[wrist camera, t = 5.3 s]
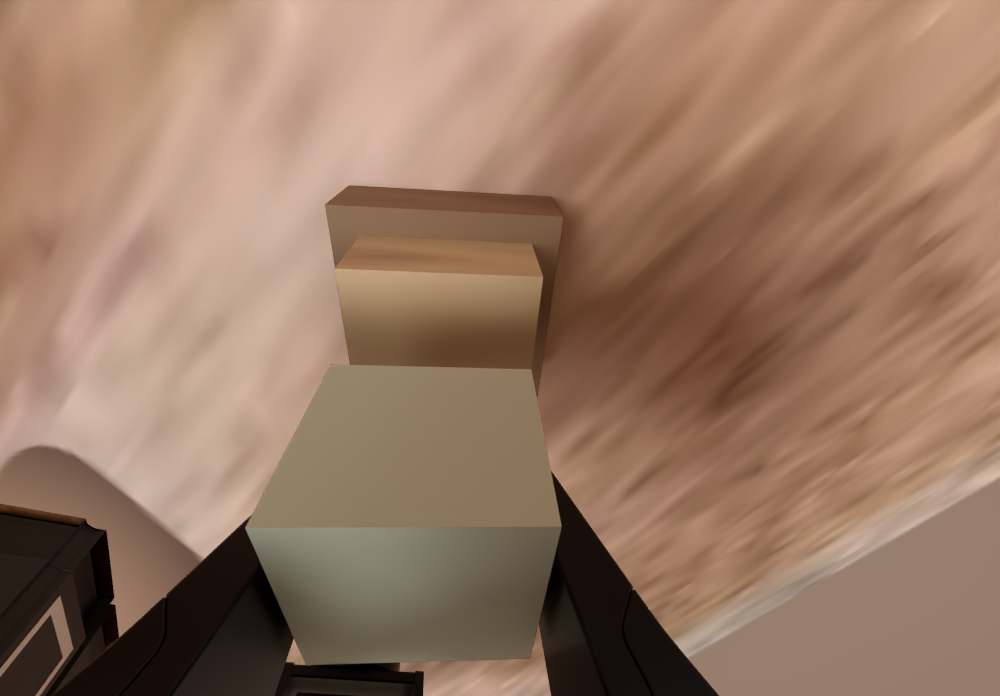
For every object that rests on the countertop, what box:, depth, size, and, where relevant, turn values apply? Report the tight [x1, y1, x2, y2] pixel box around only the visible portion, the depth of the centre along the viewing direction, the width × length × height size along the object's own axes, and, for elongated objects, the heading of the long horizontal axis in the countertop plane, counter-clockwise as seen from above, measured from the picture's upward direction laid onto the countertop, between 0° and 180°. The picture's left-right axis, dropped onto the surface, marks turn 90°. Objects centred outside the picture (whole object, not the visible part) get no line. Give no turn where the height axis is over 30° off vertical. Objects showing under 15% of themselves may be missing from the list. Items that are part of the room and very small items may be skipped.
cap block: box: [245, 364, 562, 665], centre depth 9 cm, size 4×4×4 cm
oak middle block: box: [334, 236, 543, 369], centre depth 15 cm, size 6×6×3 cm
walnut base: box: [325, 186, 563, 397], centre depth 17 cm, size 8×8×3 cm
